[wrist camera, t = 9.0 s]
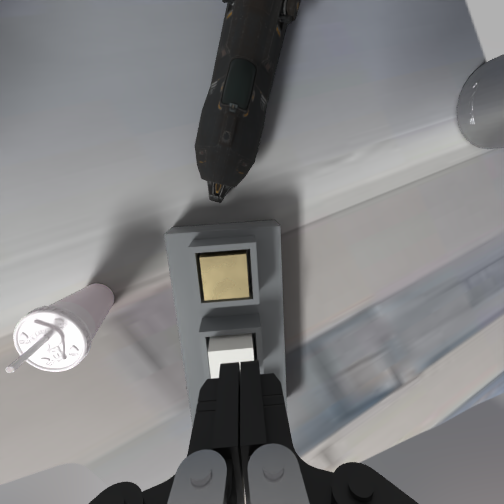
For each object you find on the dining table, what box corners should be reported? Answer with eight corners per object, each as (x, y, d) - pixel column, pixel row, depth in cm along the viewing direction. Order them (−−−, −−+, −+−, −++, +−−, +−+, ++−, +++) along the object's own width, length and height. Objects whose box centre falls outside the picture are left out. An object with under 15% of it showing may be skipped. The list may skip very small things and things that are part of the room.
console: (275, 219, 34) (285, 231, 27) (282, 401, 41) (291, 446, 34) (172, 227, 33) (156, 241, 27) (197, 409, 40) (190, 456, 34)
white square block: (251, 330, 31) (253, 347, 28) (253, 365, 32) (255, 385, 29) (210, 333, 31) (207, 351, 28) (214, 368, 32) (212, 389, 29)
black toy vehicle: (308, -44, 28) (337, -133, 20) (245, 207, 33) (248, 216, 26) (239, -70, 27) (242, -173, 19) (186, 192, 33) (171, 196, 25)
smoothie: (108, 264, 34) (26, 325, 21) (135, 309, 36) (75, 392, 22) (60, 284, 35) (-51, 357, 21) (89, 328, 36) (3, 421, 23)
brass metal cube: (245, 245, 30) (246, 254, 27) (247, 284, 31) (249, 296, 28) (203, 248, 30) (199, 257, 27) (207, 287, 31) (204, 300, 28)
